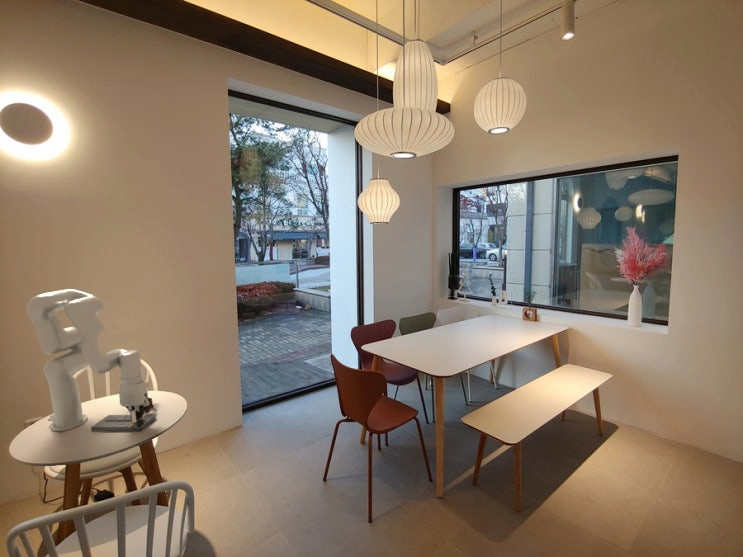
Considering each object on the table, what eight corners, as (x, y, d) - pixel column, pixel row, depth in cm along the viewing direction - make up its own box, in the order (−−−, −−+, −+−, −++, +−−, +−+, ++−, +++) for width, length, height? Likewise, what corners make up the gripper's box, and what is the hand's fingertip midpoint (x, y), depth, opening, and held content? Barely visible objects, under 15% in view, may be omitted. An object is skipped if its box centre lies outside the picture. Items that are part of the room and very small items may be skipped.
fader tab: (132, 422, 154) (130, 411, 154) (138, 417, 158) (137, 406, 158) (135, 422, 154) (134, 411, 154) (142, 417, 158) (140, 406, 158)
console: (91, 431, 152) (90, 426, 152) (109, 419, 162) (108, 414, 162) (141, 431, 152) (140, 426, 151) (156, 418, 161) (155, 414, 161)
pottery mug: (124, 418, 164) (127, 399, 167) (143, 417, 172) (146, 399, 175) (142, 415, 160) (145, 396, 163) (161, 415, 168) (163, 396, 171)
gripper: (108, 382, 150) (113, 423, 153) (144, 382, 150) (148, 423, 152) (121, 375, 158) (125, 414, 160) (155, 375, 157) (159, 414, 160)
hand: (137, 418), depth 156 cm, fingers closed
